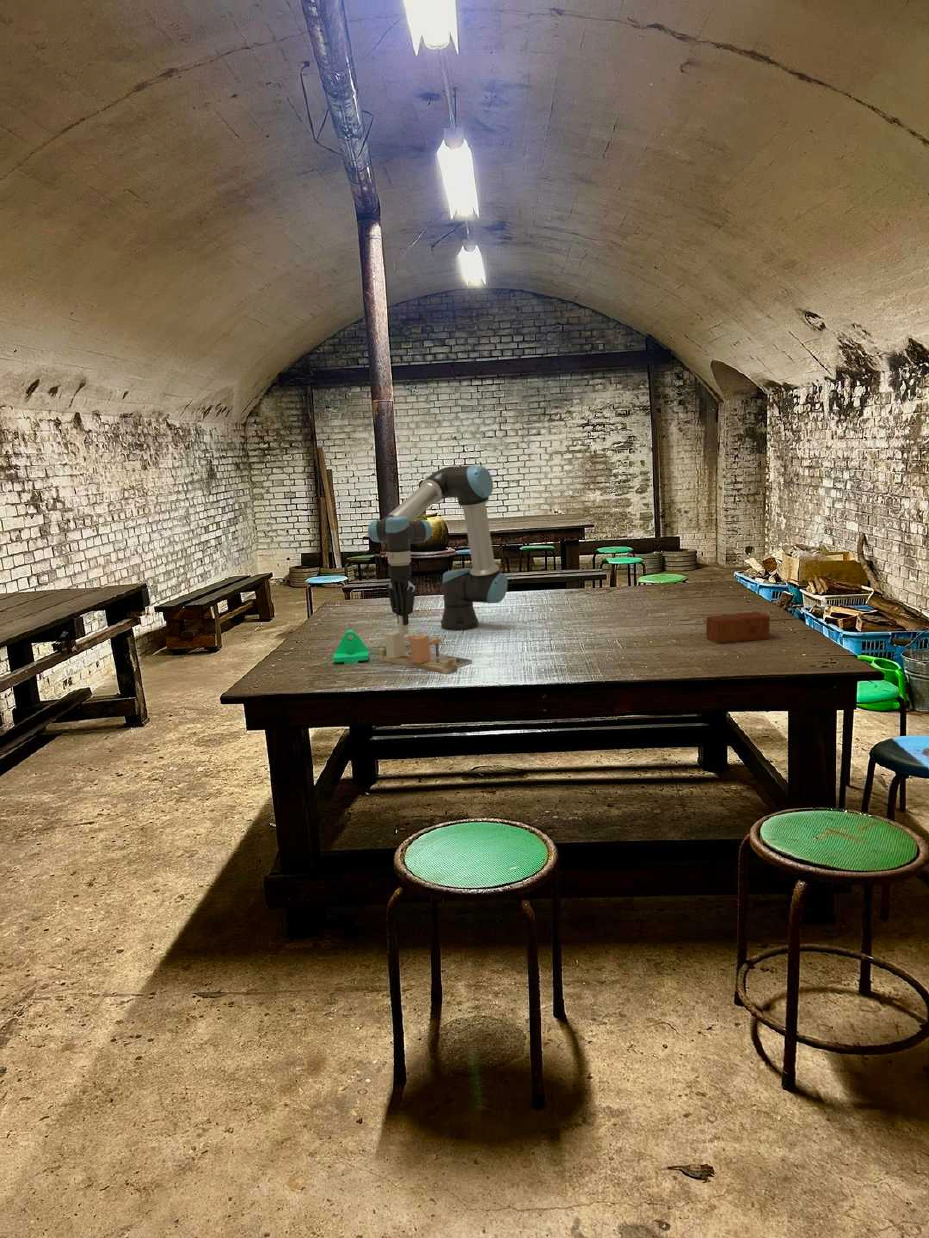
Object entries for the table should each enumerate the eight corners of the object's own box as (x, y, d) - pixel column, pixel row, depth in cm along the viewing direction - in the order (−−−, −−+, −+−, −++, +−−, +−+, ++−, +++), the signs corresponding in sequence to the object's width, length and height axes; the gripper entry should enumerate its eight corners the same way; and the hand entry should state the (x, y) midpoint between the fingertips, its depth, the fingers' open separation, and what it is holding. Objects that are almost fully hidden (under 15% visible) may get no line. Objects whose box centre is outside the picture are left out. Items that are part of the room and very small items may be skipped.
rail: (390, 657, 268) (389, 646, 268) (456, 670, 247) (456, 658, 247) (379, 660, 265) (378, 649, 264) (446, 674, 244) (445, 662, 243)
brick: (770, 615, 265) (770, 639, 267) (757, 610, 273) (756, 634, 275) (718, 620, 261) (717, 645, 263) (705, 615, 270) (705, 639, 272)
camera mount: (333, 665, 263) (331, 636, 260) (335, 659, 270) (332, 631, 268) (369, 662, 264) (366, 633, 261) (369, 657, 271) (367, 628, 269)
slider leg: (435, 654, 262) (433, 630, 261) (443, 656, 260) (442, 632, 258) (411, 662, 254) (409, 637, 252) (419, 664, 251) (418, 639, 250)
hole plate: (413, 652, 274) (413, 649, 274) (472, 663, 256) (471, 659, 255) (396, 657, 268) (396, 654, 268) (455, 668, 250) (455, 665, 250)
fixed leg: (410, 650, 270) (409, 627, 269) (418, 651, 268) (417, 628, 266) (386, 657, 262) (384, 633, 260) (394, 659, 259) (392, 634, 258)
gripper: (377, 564, 254) (382, 634, 259) (405, 566, 246) (409, 638, 250) (394, 561, 260) (398, 630, 264) (421, 563, 251) (425, 634, 256)
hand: (403, 634), depth 257 cm, fingers closed
